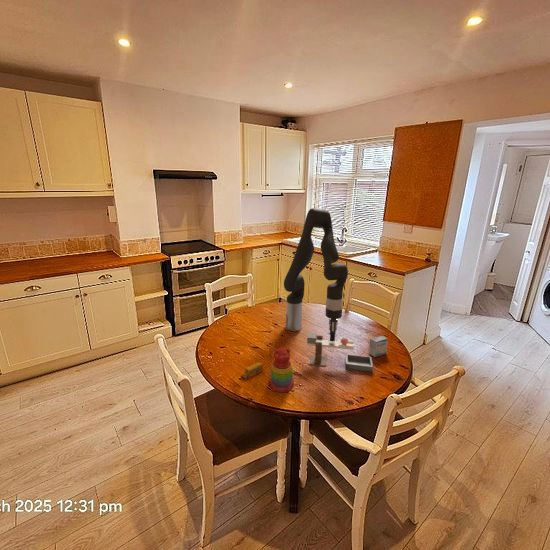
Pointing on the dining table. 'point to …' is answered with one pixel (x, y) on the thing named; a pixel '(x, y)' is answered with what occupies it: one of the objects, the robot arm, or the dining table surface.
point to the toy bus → (252, 370)
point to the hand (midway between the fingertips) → (332, 340)
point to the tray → (359, 363)
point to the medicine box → (378, 346)
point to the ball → (344, 341)
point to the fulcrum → (318, 355)
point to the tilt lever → (328, 342)
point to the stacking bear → (281, 371)
